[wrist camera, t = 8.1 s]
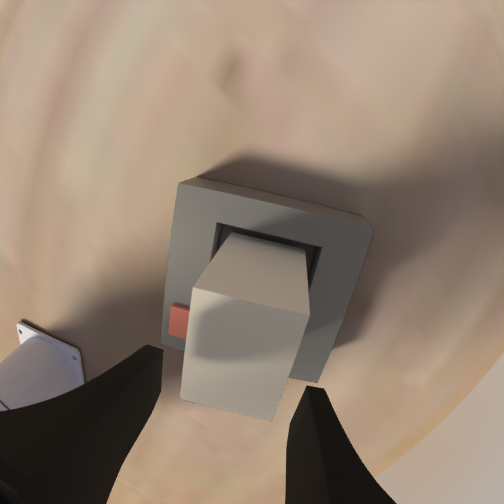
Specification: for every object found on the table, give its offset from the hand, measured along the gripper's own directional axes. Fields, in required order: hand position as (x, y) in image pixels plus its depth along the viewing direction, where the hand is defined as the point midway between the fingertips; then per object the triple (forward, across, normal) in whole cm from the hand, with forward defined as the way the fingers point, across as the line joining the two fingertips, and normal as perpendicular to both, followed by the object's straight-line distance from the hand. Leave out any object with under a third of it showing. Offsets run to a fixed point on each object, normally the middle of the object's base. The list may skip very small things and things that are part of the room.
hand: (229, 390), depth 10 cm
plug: (+10, 0, 0) cm, 10 cm away
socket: (+10, 0, 0) cm, 10 cm away
